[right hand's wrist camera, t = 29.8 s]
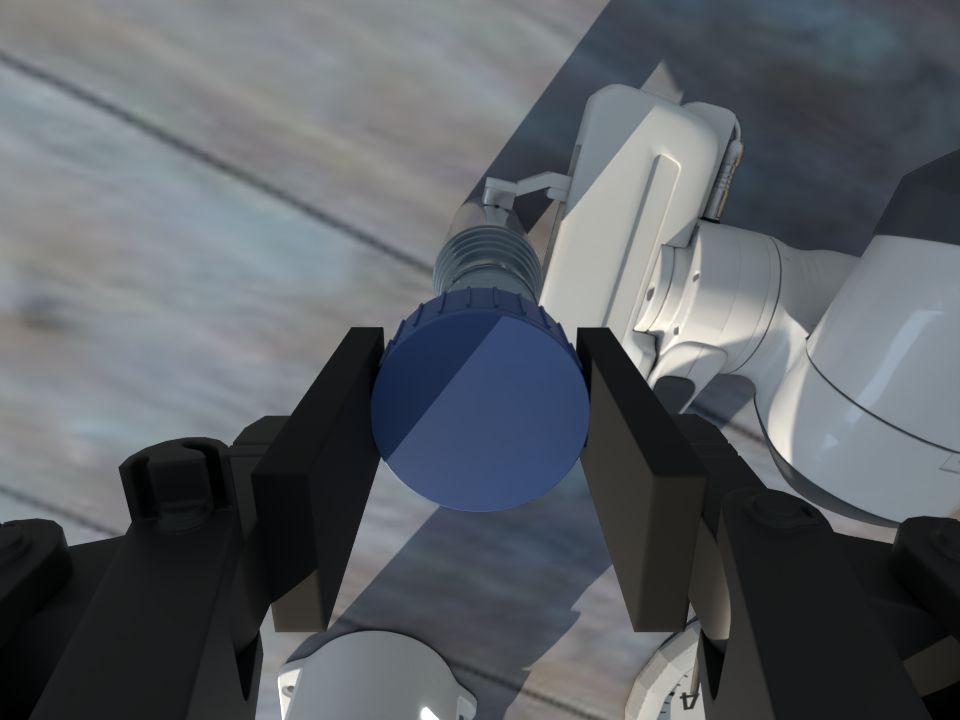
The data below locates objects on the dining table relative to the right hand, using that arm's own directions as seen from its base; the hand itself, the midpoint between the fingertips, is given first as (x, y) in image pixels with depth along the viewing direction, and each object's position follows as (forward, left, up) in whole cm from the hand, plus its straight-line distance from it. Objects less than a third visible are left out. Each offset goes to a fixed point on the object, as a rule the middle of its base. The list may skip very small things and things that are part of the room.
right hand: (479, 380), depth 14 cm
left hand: (0, -1, -22) cm, 22 cm away
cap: (0, 0, +2) cm, 2 cm away
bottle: (0, 0, -28) cm, 28 cm away
